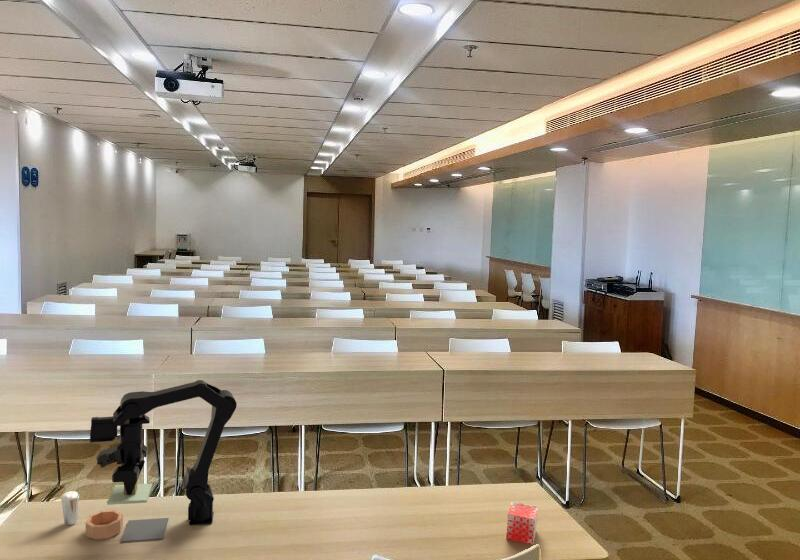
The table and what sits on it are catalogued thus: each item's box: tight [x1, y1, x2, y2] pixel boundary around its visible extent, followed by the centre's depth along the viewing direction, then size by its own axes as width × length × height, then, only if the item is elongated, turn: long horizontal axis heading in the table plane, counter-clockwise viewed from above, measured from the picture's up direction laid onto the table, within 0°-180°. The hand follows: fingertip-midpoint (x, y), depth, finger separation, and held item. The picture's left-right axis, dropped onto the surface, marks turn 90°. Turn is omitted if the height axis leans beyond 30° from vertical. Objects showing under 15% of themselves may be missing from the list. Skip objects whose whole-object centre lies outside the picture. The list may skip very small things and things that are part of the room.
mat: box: [120, 517, 169, 544], centre depth 174 cm, size 11×11×1 cm
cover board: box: [106, 481, 153, 506], centre depth 172 cm, size 10×10×5 cm
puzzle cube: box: [505, 501, 539, 545], centre depth 181 cm, size 8×8×8 cm
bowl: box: [85, 509, 124, 541], centre depth 172 cm, size 9×9×4 cm
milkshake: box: [60, 490, 81, 527], centre depth 175 cm, size 4×5×10 cm
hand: (130, 491), depth 172 cm, fingers closed on cover board, 3 cm apart
